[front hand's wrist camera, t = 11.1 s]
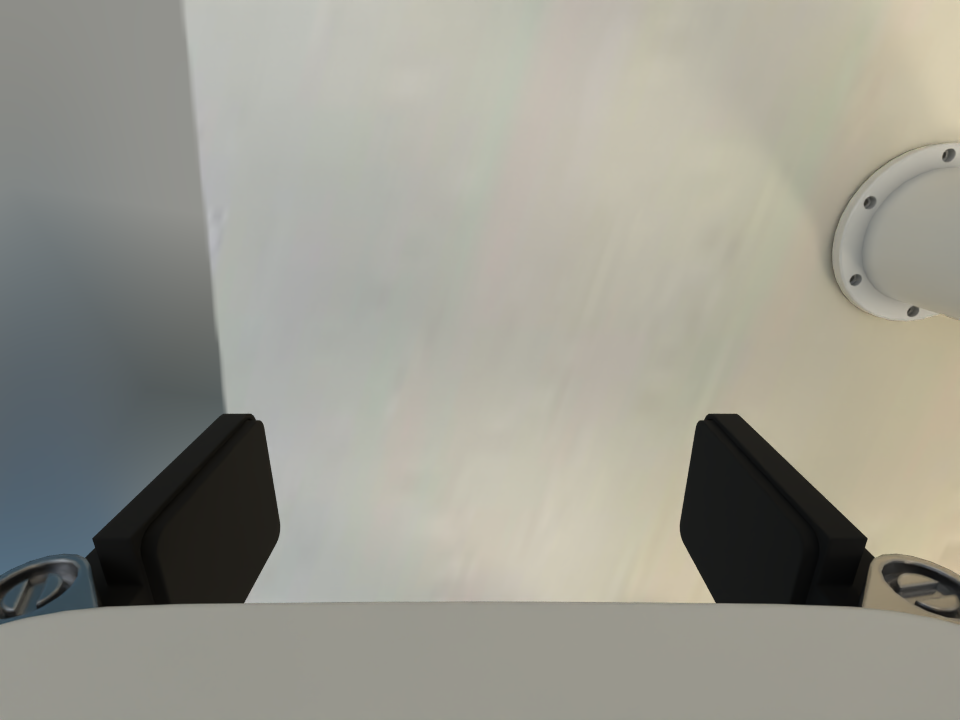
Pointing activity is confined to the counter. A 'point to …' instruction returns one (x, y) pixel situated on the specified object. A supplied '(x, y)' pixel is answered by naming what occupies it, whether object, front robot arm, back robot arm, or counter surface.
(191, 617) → the front robot arm
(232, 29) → the counter surface
